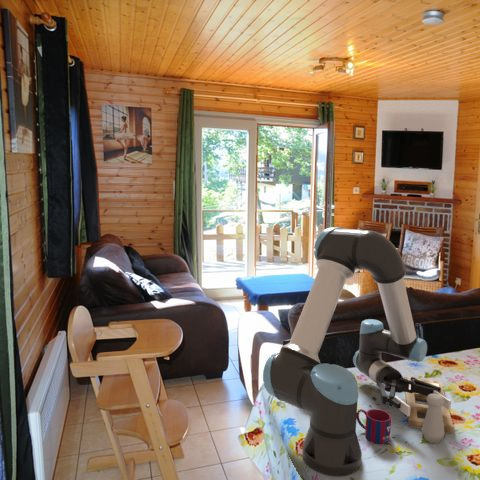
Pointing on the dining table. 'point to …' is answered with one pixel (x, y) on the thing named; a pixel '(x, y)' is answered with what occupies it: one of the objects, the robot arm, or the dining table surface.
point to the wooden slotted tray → (425, 408)
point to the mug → (376, 425)
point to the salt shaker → (433, 419)
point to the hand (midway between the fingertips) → (429, 408)
